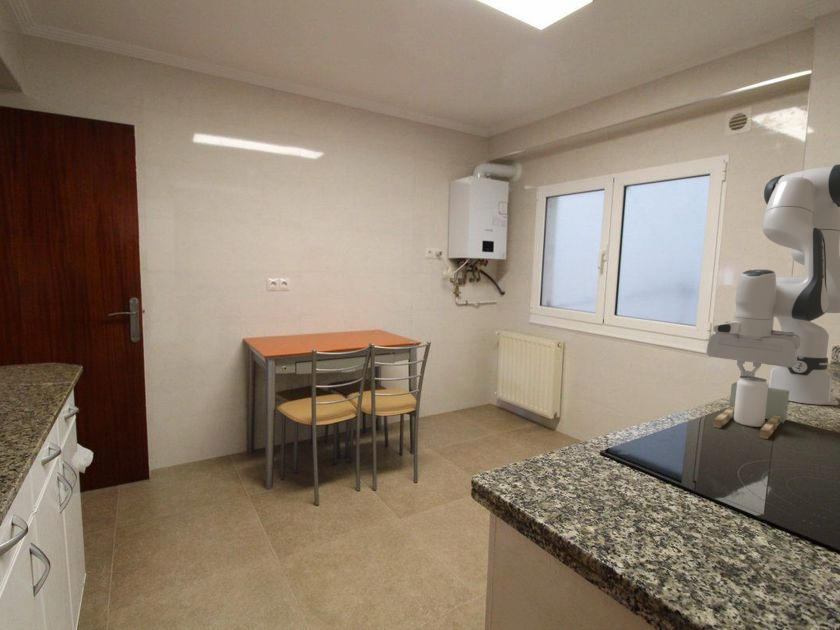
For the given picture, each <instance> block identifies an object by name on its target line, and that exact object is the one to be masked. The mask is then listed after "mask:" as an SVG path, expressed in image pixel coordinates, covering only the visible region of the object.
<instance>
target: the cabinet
mask: <svg viewBox="0 0 840 630" xmlns="http://www.w3.org/2000/svg"><path fill="white" fill-rule="evenodd" d="M737 382H738V381H735V382H733V383H732V384H731V388H730V398H729V399H730V400H729V407H735V400H736V390H737ZM788 407H789V390H783V389H777V388H771V387H769V386H768V394H767V404H766V413H765V419H768V420H767V421H769V419H770V418H771V417H772V416H773V415H775V416H780V417H781V418H780V422H782V423H781V424H784V423H785V422H786V421H785V420H787V415H788ZM784 421H785V422H784Z"/></svg>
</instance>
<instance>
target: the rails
mask: <svg viewBox="0 0 840 630" xmlns="http://www.w3.org/2000/svg"><path fill="white" fill-rule="evenodd" d="M734 410H735V407H730V406H729V407H728V408H726V409H725V410H724V411H723V412H722V413H720V414H718V415H717V416H716V417H714V418H713V423H712V427H713V428H716V429H721V428H722V427H724V426H725V425H726V424H727V423H729V420H730V419H731V418H732V419H734ZM780 418H781V417H780V416H775V415H773V416H772V417H771V418H770V419H769V420H767V421H766V422H765V423H764V425H763V426H762V427H760V430H759V438H761V439H765V440H768V439H769V438H770V437H771V435H772V434H773V433H774V432H775V431H776V430H777V429H778V427H779V426H780V425H781V423H780ZM732 419H731V420H732ZM731 420H730V421H731ZM779 424H780V425H779ZM778 425H779V426H778ZM777 426H778V427H777ZM774 430H775V431H774Z"/></svg>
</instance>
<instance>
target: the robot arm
mask: <svg viewBox="0 0 840 630" xmlns="http://www.w3.org/2000/svg"><path fill="white" fill-rule="evenodd" d="M763 198H764V202H765V204H766V208H765V211H764V216H763V219H762V232H763V234H764V236H765V237H766V238H767V239H768V240H769V241H771V242H772V243H774V244H777V245H779V246H782V247H785V248H789V249H791V257H792V259H793V260H794V261H795V262H796V263H798V264H800V265H801V266H802V265H803V266H804V276H791V275H790V276H788V275H787V276H785V275H784V276H777V277H776V272H775V271H774V270H771V269H749V270H746V271H743V272H742V273H741V275H740V276H739V279H738V280H739V281H738V284H737V288H736V292H735V293H736V294H735V305H736V310H735V313H734V314H733V321H725V322H722V323H717V324H714V325H713V328H712V329H713V333H711V335H710V336H709V338H708V341H707V346H706V355H707V356H708V357H710V358H717V359H725V360H731V361H732V360H733V361H736V365H737V367H738V368H739V370H740V376H753V377H756V376H755V375H756V372H757V371H758V370H759V369H760V368H761V367H762V365H768V366H769V365H770V366H775V367H773V368H772V369H771V371H770V377H769V383H768V387H771V388H777V389H783V390H789V400H788V402H794V403H800V404H808V405H827V406H828V405H829V406H839V401H838V400H837V399H836V398H835V397H834V395H833V394H832V393H833V388H832V383H833V377H832V376H831V375H830V374H829V373H828V372H827V369H828V365H829V357H827V354H828V346H829V338H830V337H829V336H830V335H829V332H828V330H826V329H825V328H824V327H823V326H820V325H819V324H817V323H815V322H812V321H814V320H816V319H818V318H820V317H822V316H824V315H825V314H840V163H839V164H835V165H833V166H832V165H831V166H830V165H829V166H819V167H812V168H807V169H804V170H798V171H794V172H792V173H788V174H781V175H778V176H775V177H773V178H771V179H770V180H769V181H768V182H767V183H766V184H765V187H764V191H763ZM774 317H775V318H776V319H777V320H778V322H779V325H780V328H781V330H773V329H774V320H775V318H774ZM745 363H752V364H753V365H752V366H753V367H754V368H753V369H752V370H746V369H745V367H744V366H743V365H744V364H745Z"/></svg>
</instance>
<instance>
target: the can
mask: <svg viewBox="0 0 840 630" xmlns="http://www.w3.org/2000/svg"><path fill="white" fill-rule="evenodd" d="M736 382H737V390H736V400H735V410H734V417H733V421H734V422H735V423H736V424H738V425H741V426H745V427H751V428H762V427H763V426H764V425H765V423H766V422H765V421H766V420H765V413H766V404H767V394H768V387H769V384H768V383H767V379H766V378H763V377H758V376H755V377H753V376H741V375H740V376H739V379H738V380H737V381H736Z"/></svg>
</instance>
